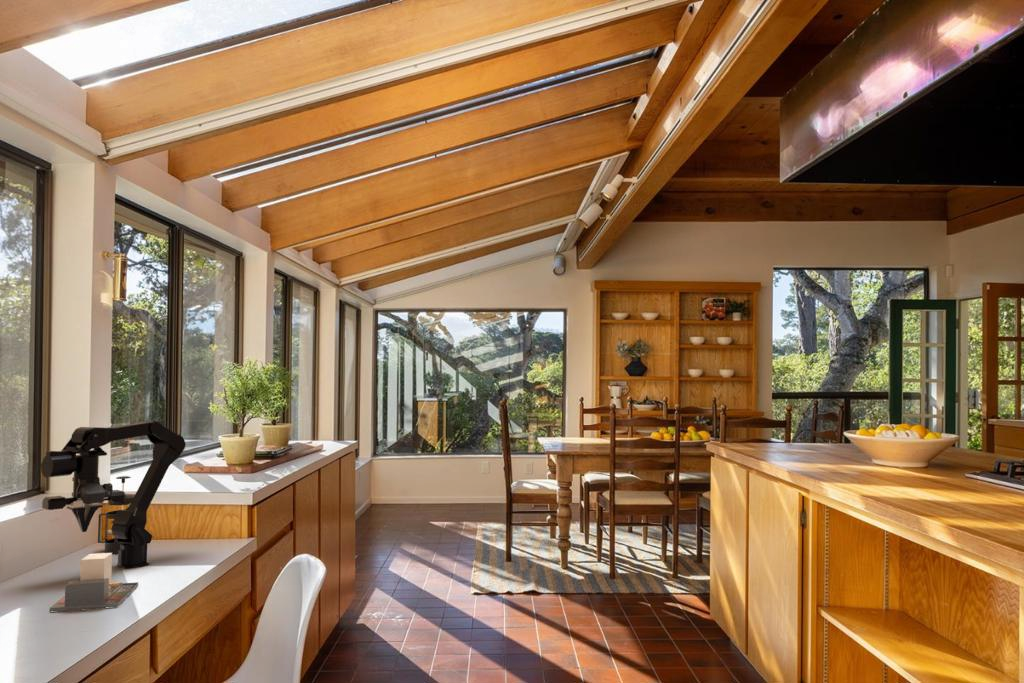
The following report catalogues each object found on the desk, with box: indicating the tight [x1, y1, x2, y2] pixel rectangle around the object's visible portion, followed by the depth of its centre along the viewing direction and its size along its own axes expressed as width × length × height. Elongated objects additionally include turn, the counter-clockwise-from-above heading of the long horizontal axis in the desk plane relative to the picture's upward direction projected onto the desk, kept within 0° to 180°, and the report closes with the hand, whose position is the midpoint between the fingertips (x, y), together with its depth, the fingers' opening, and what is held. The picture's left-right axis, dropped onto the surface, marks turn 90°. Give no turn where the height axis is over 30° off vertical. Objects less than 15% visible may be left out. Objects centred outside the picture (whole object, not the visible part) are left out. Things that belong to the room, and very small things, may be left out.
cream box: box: [79, 552, 120, 592], centre depth 170 cm, size 6×10×9 cm, turn 105°
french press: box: [97, 475, 136, 555], centre depth 221 cm, size 12×9×23 cm
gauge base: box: [49, 578, 139, 613], centre depth 171 cm, size 18×14×6 cm
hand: (83, 531), depth 191 cm, fingers closed
